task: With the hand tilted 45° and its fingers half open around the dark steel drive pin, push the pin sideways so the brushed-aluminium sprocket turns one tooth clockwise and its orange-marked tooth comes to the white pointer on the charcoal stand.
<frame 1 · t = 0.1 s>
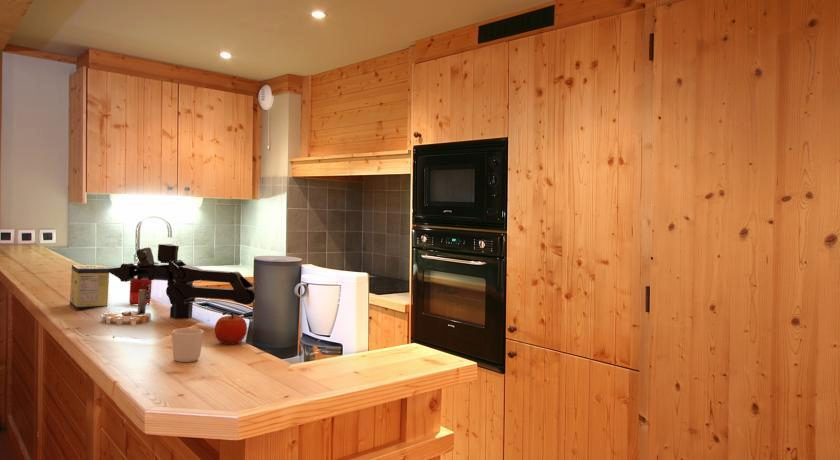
hand: (115, 269, 209), 17 cm above the counter, tool horizontal, fingers open, 9 cm apart
fruit: (230, 343, 179), on the counter
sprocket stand: (126, 323, 196), on the counter
protein box: (88, 307, 222), on the counter
cup: (188, 359, 157), on the counter
canned food: (139, 304, 236), on the counter
sprocket: (127, 305, 196), point 6 cm above the counter, hinge at 0.0°
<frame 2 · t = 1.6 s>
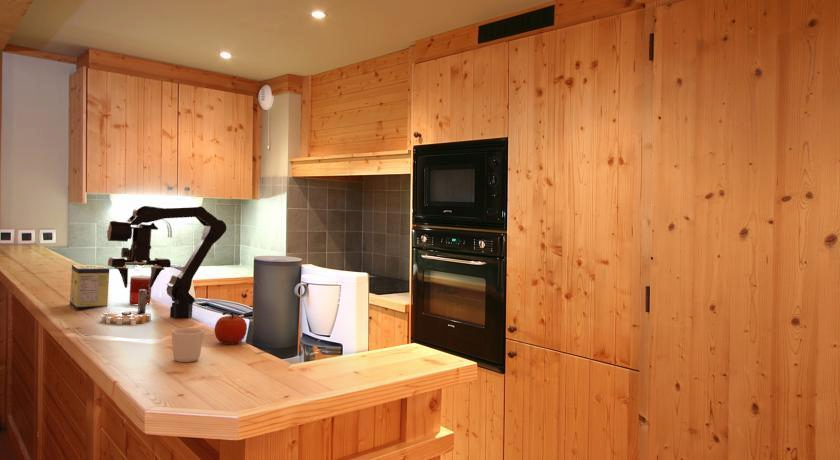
hand: (138, 287, 199), 12 cm above the counter, tool pointing down, fingers open, 8 cm apart
nothing on the counter moved.
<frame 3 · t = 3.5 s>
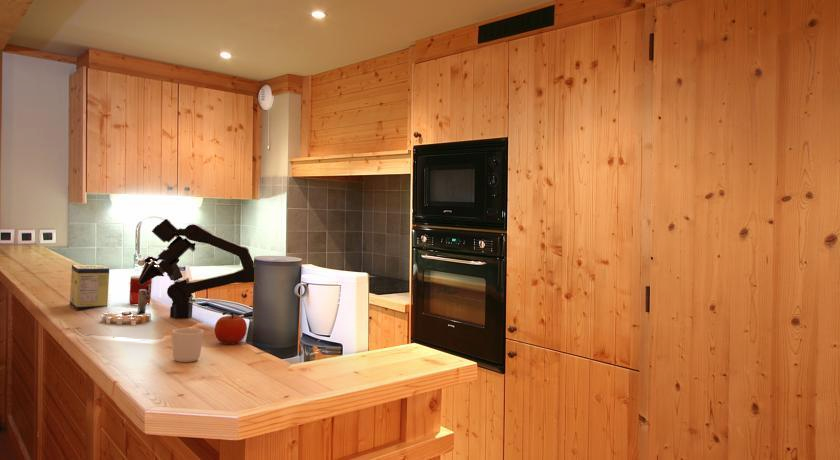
hand: (139, 283, 199), 13 cm above the counter, tool tilted 45°, fingers closed
nothing on the counter moved.
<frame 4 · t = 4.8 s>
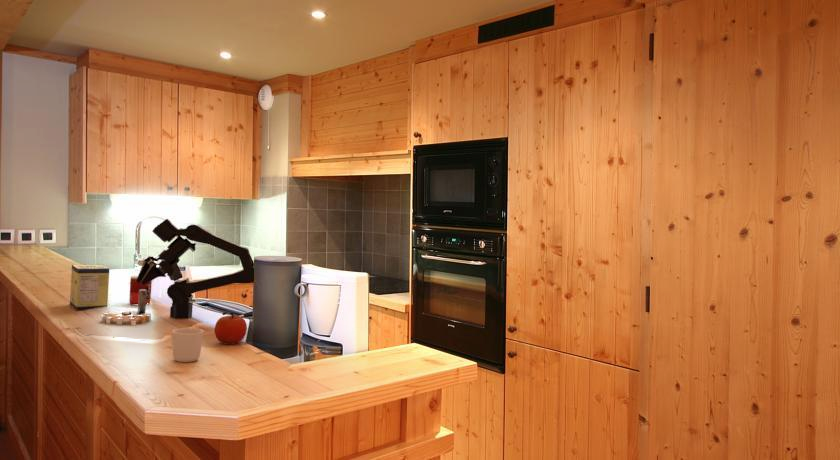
hand: (139, 283, 199), 14 cm above the counter, tool tilted 45°, fingers open, 5 cm apart
nothing on the counter moved.
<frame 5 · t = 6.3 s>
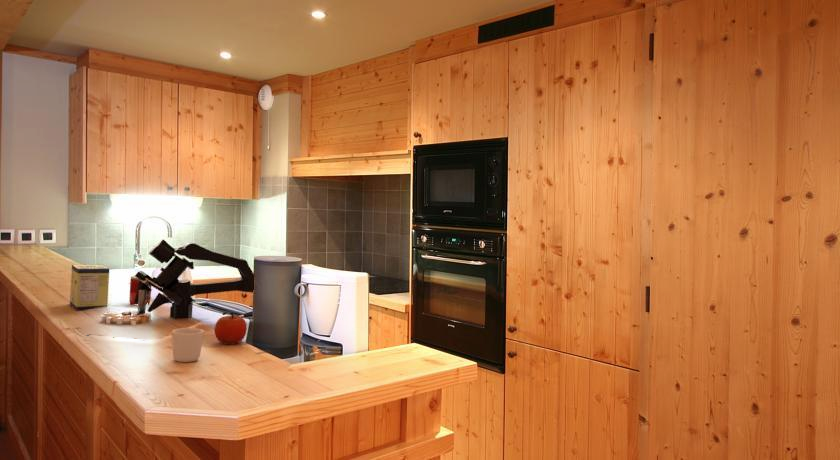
hand: (141, 307, 199), 5 cm above the counter, tool tilted 40°, fingers open, 6 cm apart
sprocket: (127, 305, 196), point 6 cm above the counter, hinge at 0.0°, touching gripper
everything else where it was.
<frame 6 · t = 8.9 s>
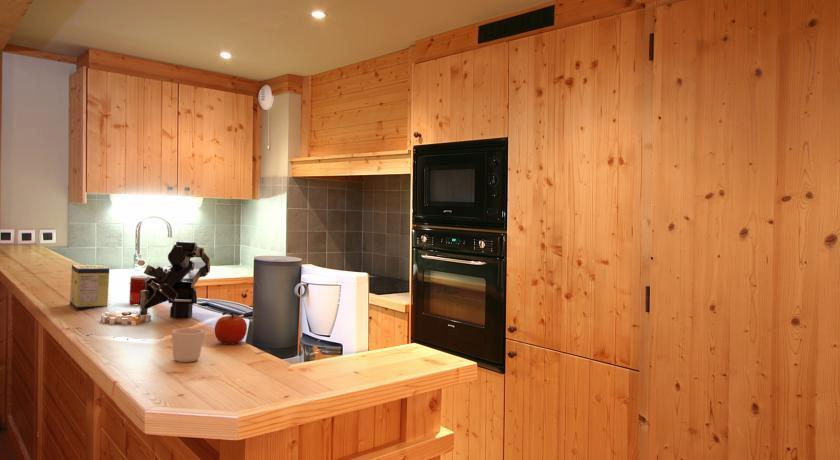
hand: (141, 306, 197), 6 cm above the counter, tool tilted 45°, fingers open, 6 cm apart
sprocket: (127, 305, 196), point 6 cm above the counter, hinge at -18.5°, touching gripper
everything else where it was.
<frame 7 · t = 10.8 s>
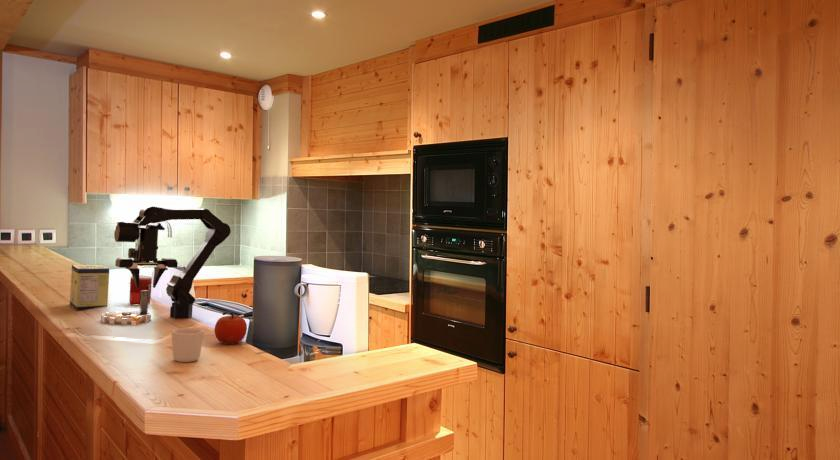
hand: (145, 287, 200), 12 cm above the counter, tool pointing down, fingers open, 5 cm apart
sprocket: (127, 305, 196), point 6 cm above the counter, hinge at -18.9°
everything else where it was.
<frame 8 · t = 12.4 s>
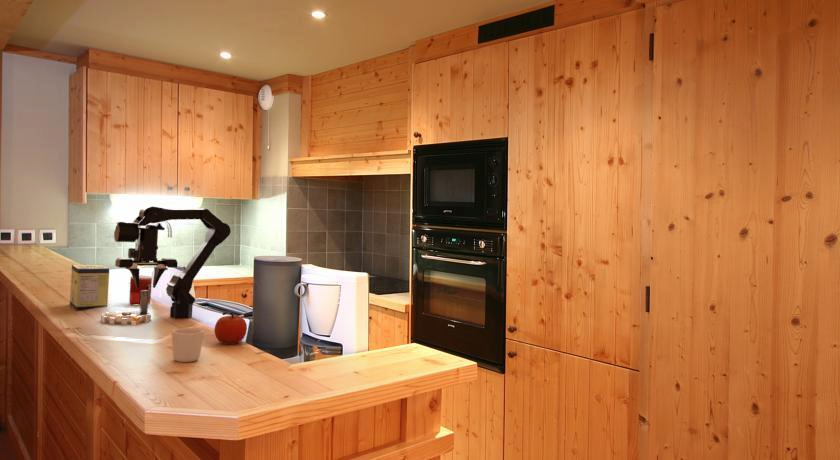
hand: (145, 287, 200), 12 cm above the counter, tool pointing down, fingers open, 5 cm apart
nothing on the counter moved.
at the end: sprocket at -19° (first picture: +0°); canned food moved 0.2 cm from its start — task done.
